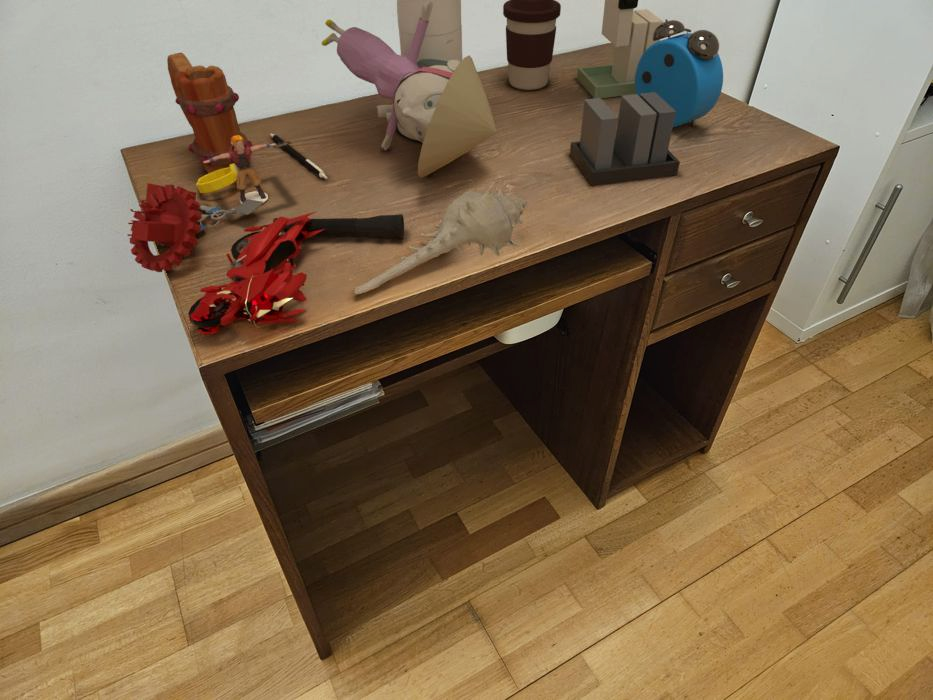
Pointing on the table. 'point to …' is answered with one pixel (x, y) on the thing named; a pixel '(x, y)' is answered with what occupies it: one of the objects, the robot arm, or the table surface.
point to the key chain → (229, 211)
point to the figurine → (421, 93)
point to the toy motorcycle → (257, 278)
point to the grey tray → (622, 168)
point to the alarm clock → (682, 71)
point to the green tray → (603, 82)
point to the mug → (206, 109)
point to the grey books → (627, 130)
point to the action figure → (246, 167)
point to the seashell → (463, 230)
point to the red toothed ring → (165, 226)
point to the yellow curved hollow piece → (217, 179)
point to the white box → (617, 23)
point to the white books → (634, 46)
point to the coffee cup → (530, 41)
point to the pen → (300, 157)
